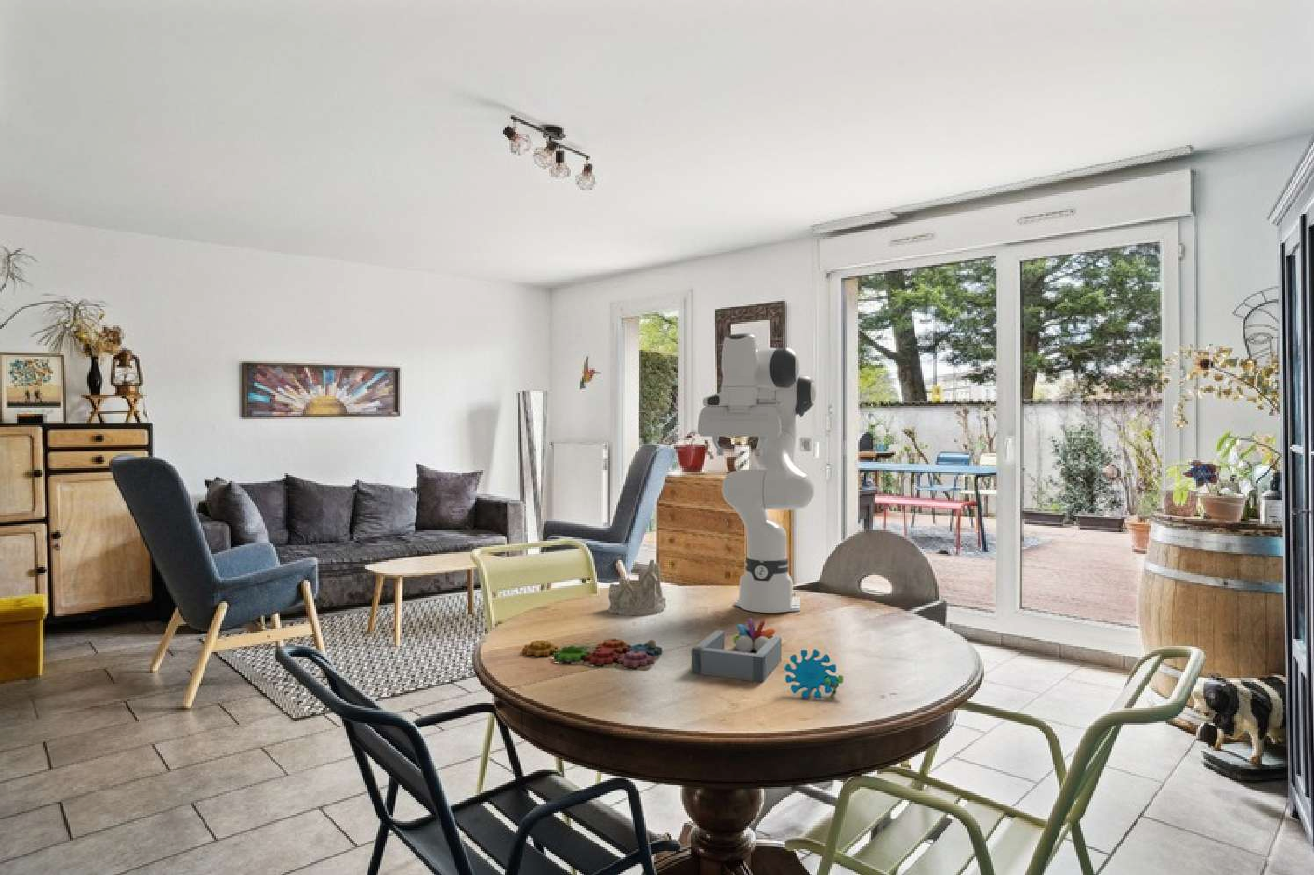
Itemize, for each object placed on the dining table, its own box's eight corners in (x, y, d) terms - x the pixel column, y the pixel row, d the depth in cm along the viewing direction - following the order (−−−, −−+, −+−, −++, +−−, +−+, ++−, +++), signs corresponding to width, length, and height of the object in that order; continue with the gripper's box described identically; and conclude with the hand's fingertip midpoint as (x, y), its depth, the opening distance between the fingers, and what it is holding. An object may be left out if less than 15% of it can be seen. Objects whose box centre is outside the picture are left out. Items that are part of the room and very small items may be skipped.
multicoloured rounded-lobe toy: (775, 657, 171) (775, 624, 171) (731, 654, 173) (731, 622, 173) (776, 646, 179) (777, 615, 179) (735, 644, 181) (735, 613, 181)
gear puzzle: (510, 662, 167) (510, 644, 167) (539, 643, 183) (539, 626, 183) (649, 673, 160) (649, 654, 160) (666, 652, 175) (666, 634, 175)
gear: (777, 687, 145) (791, 641, 151) (779, 702, 149) (792, 656, 155) (836, 703, 141) (848, 655, 147) (837, 718, 145) (848, 671, 151)
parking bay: (715, 652, 174) (715, 630, 174) (781, 660, 168) (781, 637, 168) (691, 672, 159) (691, 648, 159) (762, 682, 153) (762, 657, 153)
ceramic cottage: (671, 603, 223) (667, 551, 222) (658, 618, 207) (654, 563, 206) (619, 603, 226) (615, 553, 226) (603, 619, 210) (599, 564, 210)
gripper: (783, 399, 189) (783, 455, 189) (701, 399, 194) (700, 454, 194) (781, 398, 183) (781, 456, 183) (696, 398, 188) (696, 455, 188)
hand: (739, 455), depth 188 cm, fingers open, 8 cm apart
